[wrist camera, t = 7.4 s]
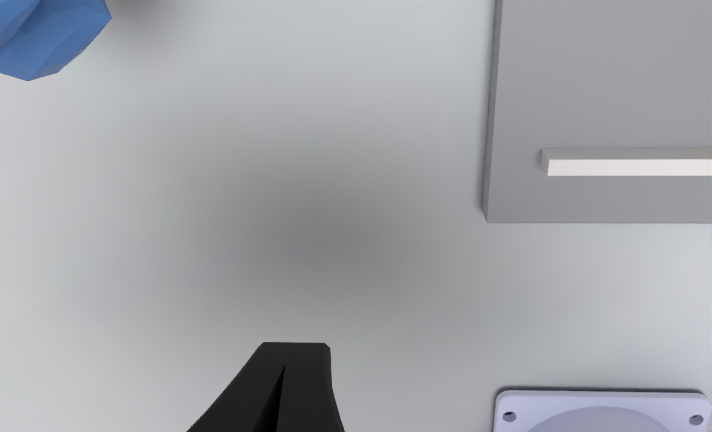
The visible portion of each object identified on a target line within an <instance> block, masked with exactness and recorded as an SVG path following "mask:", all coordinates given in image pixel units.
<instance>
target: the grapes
mask: <svg viewBox="0 0 712 432" xmlns="http://www.w3.org/2000/svg"><path fill="white" fill-rule="evenodd" d="M110 19H111V16H110V13H109V11H108V8H107V6H106V3H105V1H104V0H0V73H2V74H6V75H9V76H12V77H16V78H19V79H22V80H26V81H30V80H34V79H37V78H40V77H44V76H47V75H50V74H54V73H57V72H59V71H60V70H61V69H62V68H64V67H65V66H66V65H67V64H68V63H70V62H71V61H72V60H73V59H74V58H76V57H77V56H78V55H79V54H81V53H82V52H83V51H84V50H85V49H86V47H87V46H88V45H89V44H90V43H91V42H92V41H93V40H94V39H95V37H96V36H97V35H98V34H99V33H100V31H101V30H102V29H103V28H104V26H105V25H106V24H107V23H108V22H109V20H110Z"/></svg>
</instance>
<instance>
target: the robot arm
mask: <svg viewBox="0 0 712 432" xmlns="http://www.w3.org/2000/svg"><path fill="white" fill-rule="evenodd" d="M711 411H712V404H711V403H710V401H709V399H708V398H707V396H705V395H703V394H700V393H659V392H595V391H531V390H508V391H504V392H502V393H500V394H499V395H498V396H497V399H496V405H495V416H494V427H493V432H706V430H707V426H708V422H709V419H710V415H711ZM506 412H514V413H512V414H511V415H504V414H505V413H506ZM694 415H698V416H696V417H695V418H691V417H692V416H694ZM187 432H345V431H344V428H343V425H342V422H341V419H340V415H339V412H338V408H337V405H336V401H335V398H334V393H333V389H332V377H331V353H330V347H329V346H327V345H326V344H325V343H287V342H263V343H262V344H261V345H260V346H259V347H258V348H257V350H256V351H255V352H254V354H253V355H252V356H251V358H250V359H249V360H248V361H247V363H246V364H245V365H244V367H243V368H242V369H241V370H240V372H239V373H238V374H237V375H236V377H235V378H234V379H233V380H232V382H231V383H230V384H229V385H228V387H227V388H226V389H225V390H224V391H223V392H222V393H221V395H220V396H219V397H218V398H217V399H216V400H215V402H214V403H213V404H212V405H211V406H210V407H209V409H208V410H207V411H206V412H205V413H204V414H203V415H202V416H201V417H200V418H199V419H198V420H197V421H196V422H195V423H194V424H193V425H192V426H191V428H190V429H189V430H188V431H187Z"/></svg>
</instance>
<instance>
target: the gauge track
mask: <svg viewBox="0 0 712 432" xmlns="http://www.w3.org/2000/svg"><path fill="white" fill-rule="evenodd" d="M482 210H483V213H484V216H485V219H486V222H487V223H694V224H712V0H496V10H495V24H494V39H493V54H492V68H491V83H490V97H489V112H488V127H487V141H486V156H485V170H484V185H483V200H482Z"/></svg>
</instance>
